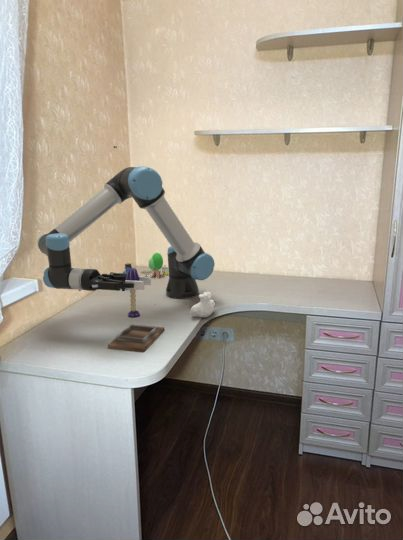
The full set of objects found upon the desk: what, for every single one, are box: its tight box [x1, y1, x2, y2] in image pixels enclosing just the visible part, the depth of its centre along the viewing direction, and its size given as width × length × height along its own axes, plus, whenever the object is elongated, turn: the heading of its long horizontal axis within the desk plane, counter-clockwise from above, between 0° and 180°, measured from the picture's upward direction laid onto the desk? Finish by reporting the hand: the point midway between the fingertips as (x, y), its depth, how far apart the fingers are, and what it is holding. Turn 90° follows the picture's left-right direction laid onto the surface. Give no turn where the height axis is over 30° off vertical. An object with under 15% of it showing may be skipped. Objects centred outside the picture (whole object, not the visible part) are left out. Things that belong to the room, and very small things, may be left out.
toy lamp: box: [125, 267, 141, 319], centre depth 138 cm, size 5×5×17 cm
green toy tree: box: [148, 252, 169, 280], centre depth 220 cm, size 15×14×14 cm
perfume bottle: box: [122, 263, 133, 289], centre depth 200 cm, size 6×6×12 cm
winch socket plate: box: [107, 324, 165, 353], centre depth 142 cm, size 18×13×3 cm
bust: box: [189, 291, 216, 318], centre depth 160 cm, size 12×8×11 cm
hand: (147, 283), depth 135 cm, fingers closed on toy lamp, 5 cm apart
